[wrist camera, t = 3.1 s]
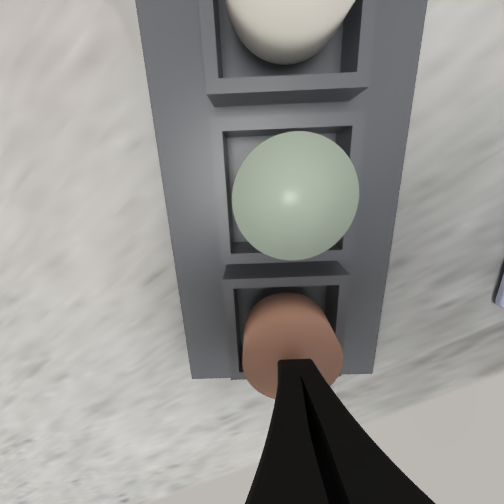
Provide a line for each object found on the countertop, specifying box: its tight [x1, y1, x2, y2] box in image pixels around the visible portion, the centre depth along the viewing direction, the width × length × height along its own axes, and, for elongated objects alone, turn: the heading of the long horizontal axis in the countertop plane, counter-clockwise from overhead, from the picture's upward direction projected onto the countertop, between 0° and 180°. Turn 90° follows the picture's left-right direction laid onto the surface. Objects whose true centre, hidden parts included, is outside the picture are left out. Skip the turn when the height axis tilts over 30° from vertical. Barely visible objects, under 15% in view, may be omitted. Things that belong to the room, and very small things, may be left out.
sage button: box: [232, 131, 359, 260], centre depth 10 cm, size 4×4×2 cm
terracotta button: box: [242, 292, 343, 399], centre depth 12 cm, size 4×4×2 cm
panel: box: [135, 0, 428, 380], centre depth 12 cm, size 12×24×4 cm, turn 2°
